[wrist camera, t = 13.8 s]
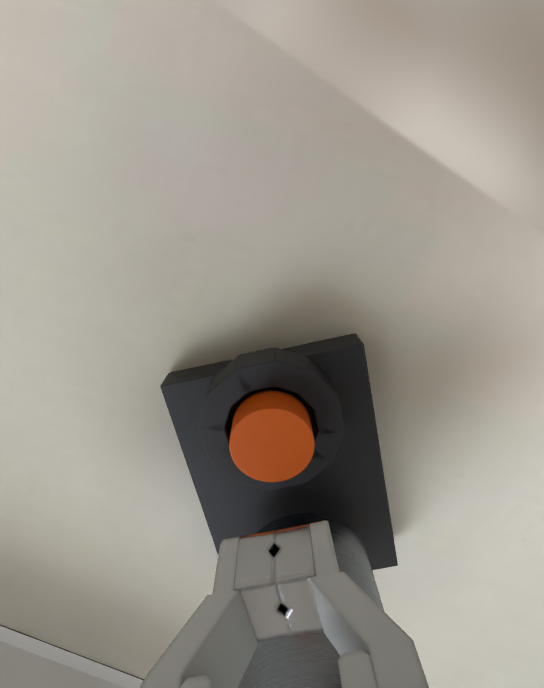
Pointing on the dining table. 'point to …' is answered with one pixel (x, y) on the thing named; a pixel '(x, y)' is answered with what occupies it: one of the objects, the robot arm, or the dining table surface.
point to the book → (52, 666)
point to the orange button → (271, 436)
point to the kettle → (313, 648)
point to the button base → (328, 429)
